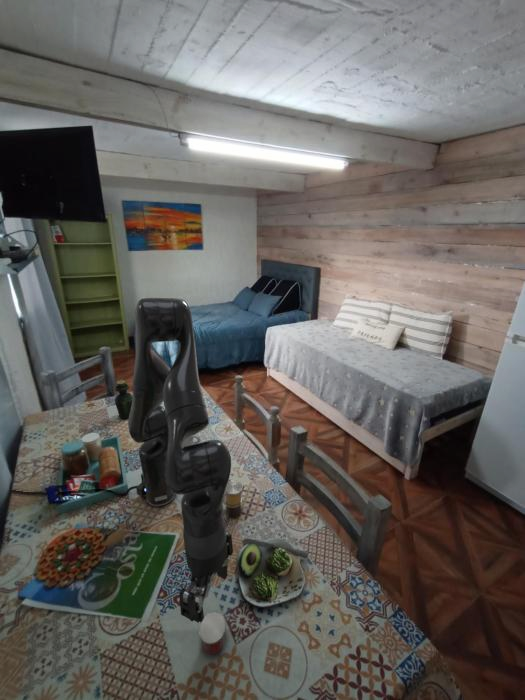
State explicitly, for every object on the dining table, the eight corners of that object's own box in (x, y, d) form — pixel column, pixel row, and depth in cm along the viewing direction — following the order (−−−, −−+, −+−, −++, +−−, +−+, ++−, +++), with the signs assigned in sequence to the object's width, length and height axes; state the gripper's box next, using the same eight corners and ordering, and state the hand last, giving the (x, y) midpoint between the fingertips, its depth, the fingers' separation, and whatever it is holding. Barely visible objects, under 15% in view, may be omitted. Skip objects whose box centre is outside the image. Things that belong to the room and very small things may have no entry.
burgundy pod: (195, 648, 67) (193, 634, 66) (210, 621, 72) (208, 607, 70) (217, 663, 65) (216, 649, 63) (231, 633, 70) (230, 619, 68)
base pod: (221, 514, 99) (220, 502, 97) (230, 501, 103) (230, 489, 101) (237, 521, 96) (236, 509, 95) (245, 507, 101) (245, 495, 99)
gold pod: (221, 502, 97) (220, 490, 95) (230, 490, 101) (230, 477, 100) (237, 509, 95) (236, 496, 93) (245, 496, 99) (245, 483, 97)
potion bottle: (139, 412, 153) (134, 378, 146) (129, 421, 145) (123, 387, 139) (124, 410, 154) (118, 377, 148) (114, 419, 147) (107, 385, 140)
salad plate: (298, 532, 93) (298, 520, 91) (322, 596, 77) (323, 584, 75) (232, 545, 89) (232, 534, 87) (243, 617, 73) (243, 604, 71)
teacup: (161, 453, 125) (158, 436, 122) (177, 437, 134) (176, 421, 131) (191, 462, 120) (189, 445, 117) (206, 445, 130) (204, 429, 127)
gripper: (210, 502, 65) (214, 557, 71) (162, 564, 53) (172, 624, 59) (242, 515, 62) (244, 571, 68) (199, 584, 50) (206, 645, 56)
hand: (210, 596), depth 63 cm, fingers open, 8 cm apart
